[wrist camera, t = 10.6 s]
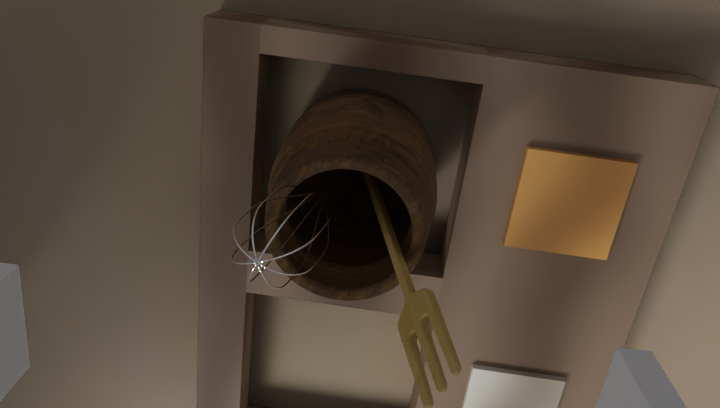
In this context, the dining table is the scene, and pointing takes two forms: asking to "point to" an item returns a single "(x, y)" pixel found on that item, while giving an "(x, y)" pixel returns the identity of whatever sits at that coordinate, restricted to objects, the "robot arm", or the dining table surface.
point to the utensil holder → (358, 215)
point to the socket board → (467, 207)
